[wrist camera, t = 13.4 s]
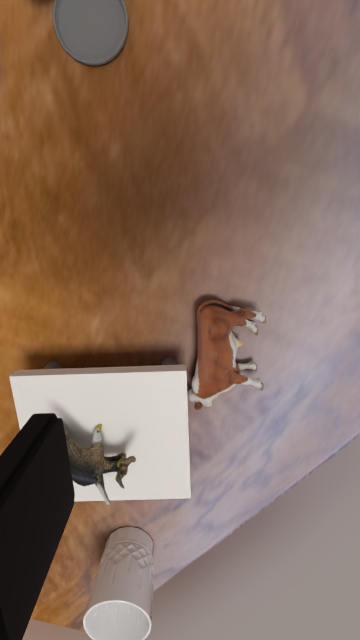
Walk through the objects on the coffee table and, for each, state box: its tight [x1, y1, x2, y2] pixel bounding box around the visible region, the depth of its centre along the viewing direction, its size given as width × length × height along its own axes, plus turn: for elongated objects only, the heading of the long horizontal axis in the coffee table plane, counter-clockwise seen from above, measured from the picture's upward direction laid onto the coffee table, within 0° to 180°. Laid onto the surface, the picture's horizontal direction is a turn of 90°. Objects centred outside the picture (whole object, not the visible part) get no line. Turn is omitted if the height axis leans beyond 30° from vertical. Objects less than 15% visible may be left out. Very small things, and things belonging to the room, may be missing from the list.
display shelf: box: [9, 357, 191, 501], centre depth 38 cm, size 18×16×6 cm
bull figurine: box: [188, 300, 266, 410], centre depth 37 cm, size 4×13×8 cm
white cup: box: [83, 527, 153, 640], centre depth 43 cm, size 8×8×10 cm
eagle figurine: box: [64, 424, 136, 505], centre depth 33 cm, size 8×7×9 cm
